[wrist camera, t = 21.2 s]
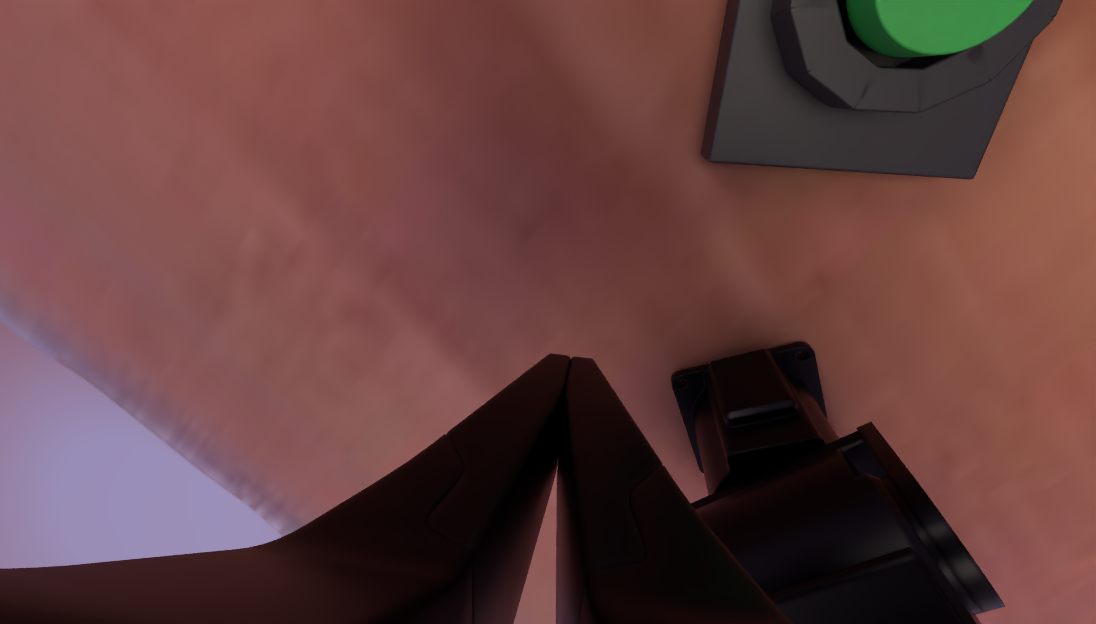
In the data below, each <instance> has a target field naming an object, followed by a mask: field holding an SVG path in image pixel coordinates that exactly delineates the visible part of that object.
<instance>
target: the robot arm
mask: <svg viewBox="0 0 1096 624" xmlns="http://www.w3.org/2000/svg"><path fill="white" fill-rule="evenodd" d="M801 351H806V352H805V354H804V355H802V356H797V354H798V353H799V352H801ZM679 380H686V382H685V383H683V384H680V383H677V382H678V381H679ZM671 384H672V388H673V391H674V394H675V397H676V400H677V403H678V406H679V409H680V412H681V415H682V418H683V421H684V424H685V427H686V430H687V433H688V436H689V439H690V442H691V445H692V448H693V451H694V454H695V457H696V460H697V463H698V466H699V469H700V471H701V472H702V473H704V476H705V480H706V485H707V489H708V494H709V496H707V497H705V498H702V499H700V500H698V501H695V502H693V503H691V504H690V502H689V501H688V500H687V498H686V497H685V495H684V494H683V493H682V491H681V490H680V488H679V487H678V486H677V484H676V483H675V481H674V480H673V478H672V477H671V475H670V474H669V472H668V471H667V469H666V468H665V467H664V466H662V462H661V461H660V459H659V458H658V456H657V455H656V453H655V452H654V450H653V449H652V447H651V446H650V444H649V443H648V441H647V440H646V438H645V437H644V435H643V434H642V432H641V431H640V429H639V428H638V426H637V425H636V423H635V422H634V420H633V419H632V417H631V416H630V414H629V412H628V411H627V409H626V408H625V406H624V405H623V403H622V402H621V400H620V399H619V397H618V396H617V394H616V393H615V391H614V390H613V388H612V387H611V385H610V384H609V382H608V381H607V379H606V378H605V376H604V375H603V373H602V372H601V370H600V369H599V367H598V366H597V364H596V363H595V361H594V360H593V359H591V358H583V357H572V359H570V357H569V356H567V355H559V354H549V355H547V356H546V357H545V358H543V359H542V360H541V361H539V362H538V363H537V364H535V365H534V366H533V367H532V368H530V369H529V370H528V371H526V372H525V373H524V374H523V375H521V376H520V377H519V378H517V379H516V380H515V381H513V382H512V383H511V384H510V385H508V386H507V387H506V388H504V389H503V390H502V391H500V392H499V393H498V394H497V395H495V396H494V397H493V398H491V399H490V400H489V401H487V402H486V403H485V404H484V405H482V406H481V407H480V408H478V409H477V410H476V411H475V412H473V413H472V414H471V415H469V416H468V417H467V418H465V419H464V420H463V421H462V422H460V423H459V424H458V425H456V426H455V427H454V428H452V429H451V430H450V431H449V432H448V433H447V435H446V434H445V435H443V436H442V437H440V438H439V439H438V440H437V441H435V442H434V443H433V444H431V445H430V446H429V447H427V448H426V449H425V450H423V451H422V452H420V453H419V454H418V455H416V456H415V457H413V458H412V459H411V460H409V461H408V462H406V463H405V464H403V465H402V466H400V467H399V468H397V469H396V470H394V471H393V472H391V473H389V474H388V475H386V476H385V477H383V478H382V479H380V480H379V481H377V482H375V483H374V484H372V485H370V486H369V487H367V488H365V489H364V490H362V491H361V492H359V493H357V494H356V495H354V496H352V497H351V498H349V499H347V500H346V501H344V502H343V503H341V504H339V505H338V506H336V507H334V508H333V509H331V510H329V511H328V512H326V513H325V514H323V515H321V516H320V517H318V518H316V519H315V520H313V521H311V522H310V523H308V524H307V525H305V526H303V527H301V528H299V529H298V530H296V531H294V532H292V533H290V534H288V535H286V536H284V537H281V538H279V539H277V540H274V541H272V542H269V543H266V544H262V545H258V546H254V547H249V548H243V549H235V550H225V551H214V552H204V553H193V554H184V555H173V556H163V557H152V558H141V559H131V560H121V561H111V562H100V563H91V564H80V565H69V566H54V567H39V568H16V569H15V568H13V569H0V624H513V623H514V619H515V616H516V612H517V609H518V605H519V602H520V598H521V595H522V591H523V588H524V584H525V581H526V577H527V574H528V570H529V566H530V563H531V559H532V556H533V552H534V549H535V545H536V542H537V538H538V535H539V531H540V528H541V524H542V521H543V517H544V514H545V510H546V507H547V503H548V500H549V496H550V493H551V489H552V485H553V482H554V478H555V474H556V469H557V464H558V469H557V533H556V624H981V623H980V621H979V620H978V618H977V617H976V615H975V614H979V613H983V612H986V611H990V610H994V609H997V608H1001V607H1005V605H1004V603H1003V602H1002V600H1001V599H1000V597H999V596H998V594H997V593H996V591H995V590H994V588H993V587H992V585H991V584H990V582H989V581H988V579H987V578H986V577H985V575H984V574H983V572H982V571H981V569H980V568H979V567H978V565H977V564H976V562H975V561H974V559H973V558H972V557H971V555H970V554H969V552H968V551H967V550H966V548H965V547H964V545H963V544H962V542H961V541H960V540H959V538H958V537H957V535H956V534H955V533H954V531H953V530H952V528H951V527H950V526H949V524H948V523H947V522H946V520H945V519H944V517H943V516H942V515H941V513H940V512H939V510H938V509H937V508H936V506H935V505H934V504H933V502H932V501H931V500H930V498H929V497H928V495H927V494H926V493H925V491H924V490H923V489H922V487H921V486H920V485H919V483H918V482H917V481H916V479H915V478H914V477H913V475H912V474H911V473H910V471H909V470H908V469H907V468H906V466H905V465H904V464H903V462H902V461H901V460H900V458H899V457H898V456H897V455H896V453H895V452H894V451H893V449H892V448H891V447H890V445H889V444H888V443H887V442H886V440H885V439H884V438H883V436H882V435H881V434H880V433H879V431H878V430H877V429H876V427H875V426H874V425H873V423H872V422H869V423H867V424H864V425H862V426H860V427H858V428H857V430H858V431H856V432H854V433H852V434H849V435H847V436H845V437H842V438H840V439H839V438H838V436H837V435H836V433H835V432H834V430H833V428H832V427H831V425H830V423H829V422H828V420H827V415H826V410H825V405H824V400H823V394H822V389H821V384H820V379H819V374H818V368H817V363H816V358H815V353H814V351H813V349H812V348H811V346H810V345H809V344H807V343H805V342H797V343H793V344H789V345H785V346H781V347H776V348H772V349H768V350H764V349H762V350H757V351H753V352H749V353H745V354H741V355H737V356H733V357H729V358H724V359H720V360H716V361H712V362H711V363H710V364H706V365H702V366H698V367H693V368H689V369H685V370H681V371H678V372H675V373H674V374H673V375H672V377H671ZM558 458H559V459H558Z"/></svg>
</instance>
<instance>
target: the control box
mask: <svg viewBox="0 0 1096 624" xmlns="http://www.w3.org/2000/svg"><path fill="white" fill-rule="evenodd" d="M1062 1H1063V0H1034V1H1033V2H1032V3H1031V4H1030V5H1029V6H1028V7H1027V9H1026V10H1025V11H1024V12H1023V13H1022V14H1021V15H1020V16H1019V17H1018V18H1017V19H1016V20H1014V21H1013V22H1012V23H1011V24H1010V25H1009V26H1007V27H1006V28H1005V29H1003V30H1002V31H1001V32H999V33H998V34H996V35H995V36H993V37H992V38H990V39H989V40H987V41H985V42H983V43H981V44H979V45H977V46H974V47H972V48H969V49H967V50H964V51H960V52H957V53H952V54H946V55H936V56H922V57H909V58H898V57H890V56H886V55H883V54H880V53H878V52H876V51H874V50H872V49H871V48H869V47H868V46H866V45H865V44H864V43H863V42H862V41H861V40H860V39H859V37H858V36H857V34H856V33H855V31H854V29H853V27H852V25H851V23H850V20H849V17H848V12H847V6H846V0H728V4H727V9H726V15H725V20H724V26H723V32H722V37H721V43H720V48H719V54H718V60H717V65H716V71H715V76H714V82H713V87H712V93H711V99H710V104H709V110H708V115H707V121H706V127H705V132H704V138H703V143H702V149H701V155H703V156H704V157H705V158H706V159H707V160H708V161H709V162H716V163H731V164H746V165H761V166H776V167H791V168H806V169H821V170H836V171H851V172H866V173H881V174H896V175H911V176H926V177H942V178H957V179H973V178H974V176H975V174H976V172H977V169H978V167H979V165H980V162H981V160H982V158H983V155H984V153H985V151H986V148H987V146H988V144H989V142H990V139H991V137H992V135H993V132H994V130H995V128H996V125H997V123H998V121H999V118H1000V116H1001V114H1002V111H1003V109H1004V107H1005V104H1006V102H1007V100H1008V97H1009V95H1010V93H1011V90H1012V88H1013V86H1014V83H1015V81H1016V79H1017V76H1018V74H1019V72H1020V70H1021V67H1022V65H1023V63H1024V60H1025V58H1026V56H1027V53H1028V51H1029V49H1030V46H1031V44H1032V42H1033V39H1034V38H1035V37H1036V36H1037V35H1038V34H1039V33H1040V32H1041V31H1042V30H1043V29H1044V28H1045V27H1046V26H1047V25H1048V24H1049V23H1050V22H1051V21H1052V20H1053V19H1054V18H1053V17H1055V16H1056V14H1057V12H1058V10H1059V7H1060V5H1061V3H1062Z"/></svg>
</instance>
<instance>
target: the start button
mask: <svg viewBox="0 0 1096 624" xmlns="http://www.w3.org/2000/svg"><path fill="white" fill-rule="evenodd" d="M1033 1H1034V0H846V6H847V12H848V17H849V20H850V23H851V25H852V27H853V29H854V31H855V33H856V34H857V36H858V37H859V39H860V40H861V41H862V42H863V43H864V44H865V45H866V46H868V47H869V48H871V49H872V50H874V51H876V52H878V53H880V54H883V55H886V56H890V57H898V58H909V57H922V56H936V55H946V54H952V53H957V52H960V51H964V50H967V49H969V48H972V47H974V46H977V45H979V44H981V43H983V42H985V41H987V40H989V39H990V38H992V37H993V36H995V35H996V34H998V33H999V32H1001V31H1002V30H1003V29H1005V28H1006V27H1007V26H1009V25H1010V24H1011V23H1012V22H1013V21H1014V20H1016V19H1017V18H1018V17H1019V16H1020V15H1021V14H1022V13H1023V12H1024V11H1025V10H1026V9H1027V7H1028V6H1029V5H1030V4H1031V3H1032V2H1033Z"/></svg>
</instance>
